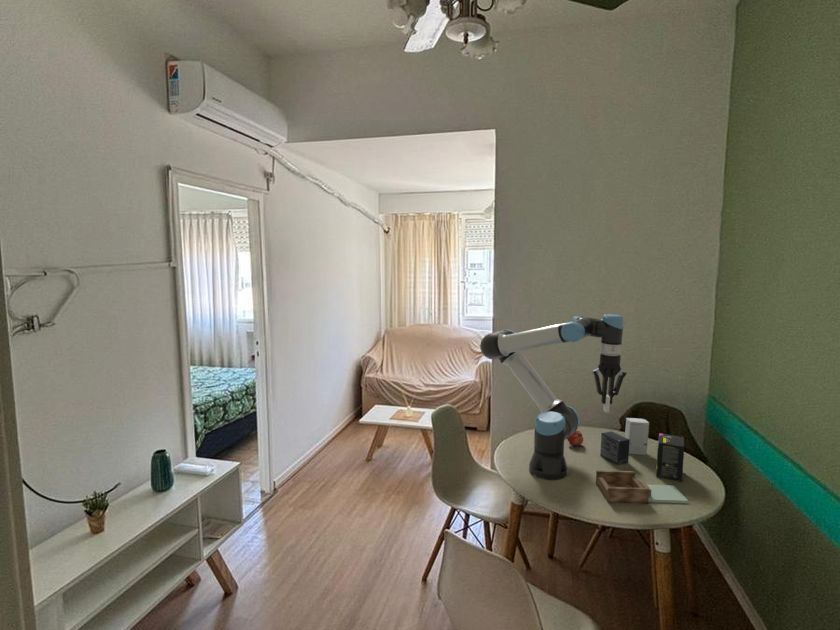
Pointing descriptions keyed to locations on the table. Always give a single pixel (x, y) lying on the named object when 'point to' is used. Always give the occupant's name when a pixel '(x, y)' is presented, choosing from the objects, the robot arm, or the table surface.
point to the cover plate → (664, 493)
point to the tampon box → (670, 457)
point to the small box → (615, 447)
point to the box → (621, 487)
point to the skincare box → (637, 435)
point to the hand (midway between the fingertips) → (606, 411)
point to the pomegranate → (575, 438)
